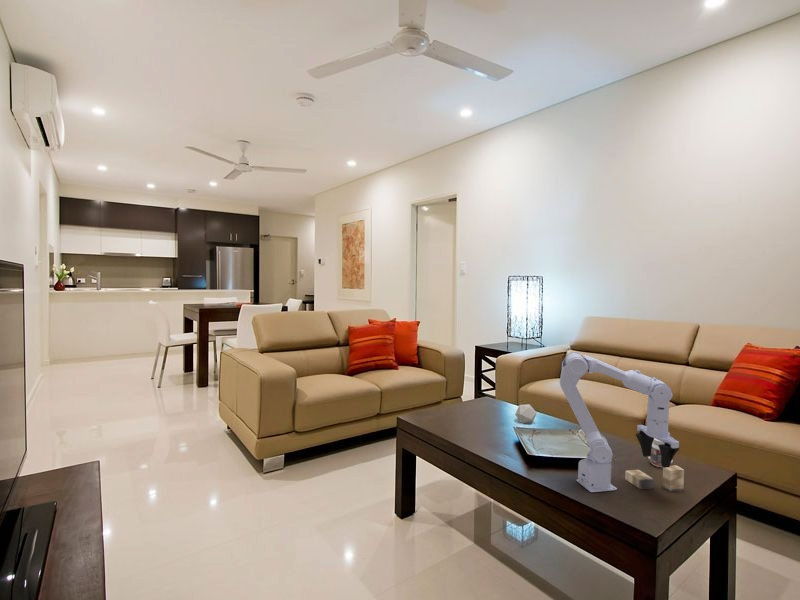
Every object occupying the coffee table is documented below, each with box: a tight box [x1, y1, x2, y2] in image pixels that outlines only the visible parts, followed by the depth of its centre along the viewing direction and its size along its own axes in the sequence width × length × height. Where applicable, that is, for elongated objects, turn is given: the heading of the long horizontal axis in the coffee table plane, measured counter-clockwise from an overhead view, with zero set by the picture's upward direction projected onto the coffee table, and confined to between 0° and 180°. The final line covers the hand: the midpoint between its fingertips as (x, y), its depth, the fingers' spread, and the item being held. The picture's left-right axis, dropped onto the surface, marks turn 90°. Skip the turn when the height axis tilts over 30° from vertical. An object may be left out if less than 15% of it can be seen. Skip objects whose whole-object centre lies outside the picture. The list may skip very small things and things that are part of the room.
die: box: [514, 403, 537, 424], centre depth 195 cm, size 8×9×10 cm
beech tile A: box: [624, 469, 655, 490], centre depth 137 cm, size 5×3×7 cm
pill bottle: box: [649, 438, 665, 468], centre depth 150 cm, size 6×6×10 cm
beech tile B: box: [661, 464, 685, 493], centre depth 133 cm, size 5×3×7 cm, turn 100°
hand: (655, 461), depth 130 cm, fingers open, 7 cm apart
